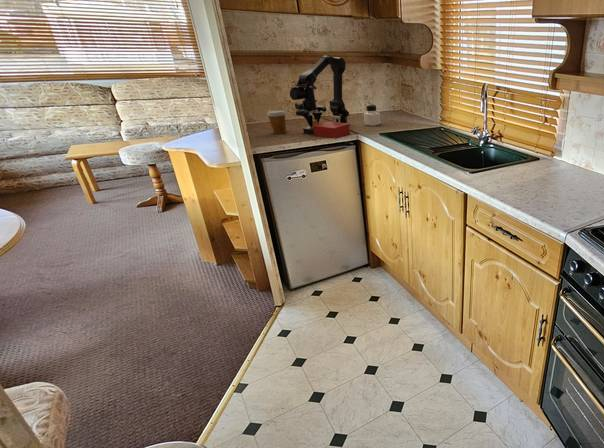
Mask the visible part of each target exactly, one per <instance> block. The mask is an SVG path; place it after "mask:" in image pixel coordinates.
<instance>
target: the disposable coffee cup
mask: <svg viewBox="0 0 604 448" xmlns="http://www.w3.org/2000/svg"><path fill="white" fill-rule="evenodd" d="M266 116H267V117H268V121H269V123H270V126H271V129H272V132H273V134H274V135H282V134H286V133H287V127H286V125H287V124H286V112H285V110H283V109H272V110H268V111H267V112H266Z"/></svg>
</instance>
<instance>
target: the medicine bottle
mask: <svg viewBox="0 0 604 448" xmlns="http://www.w3.org/2000/svg"><path fill="white" fill-rule="evenodd" d="M365 109H366V112H364V113H363V121H364V125H365V126H371V127H373V126H379V125H381V123H382V122H381V113H380V112H377V106H376V105H375V104H367V105H365Z"/></svg>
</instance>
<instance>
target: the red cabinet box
mask: <svg viewBox="0 0 604 448" xmlns="http://www.w3.org/2000/svg"><path fill="white" fill-rule="evenodd" d="M313 132H314V135H313V136H314V137H320V138H330V139H338V138H342V137H344V136H347V135H350V134H351V129H350V125H348V126H344V127H341V128H337V129H326V128H317V127H313Z"/></svg>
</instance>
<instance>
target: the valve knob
mask: <svg viewBox="0 0 604 448" xmlns="http://www.w3.org/2000/svg"><path fill="white" fill-rule="evenodd" d="M317 124H319V123H318V122H317V120H316V119H314V118H313V120H312V127H310V128H313V125H317Z"/></svg>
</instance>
